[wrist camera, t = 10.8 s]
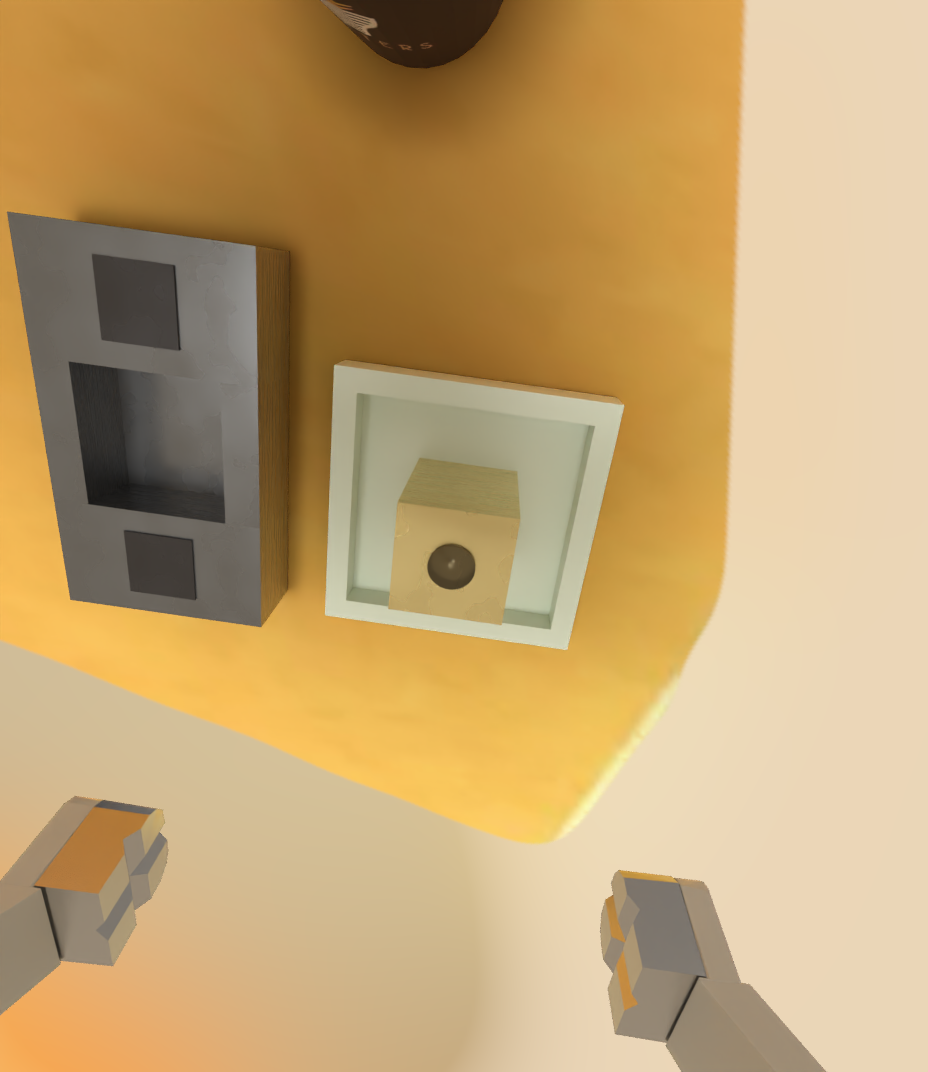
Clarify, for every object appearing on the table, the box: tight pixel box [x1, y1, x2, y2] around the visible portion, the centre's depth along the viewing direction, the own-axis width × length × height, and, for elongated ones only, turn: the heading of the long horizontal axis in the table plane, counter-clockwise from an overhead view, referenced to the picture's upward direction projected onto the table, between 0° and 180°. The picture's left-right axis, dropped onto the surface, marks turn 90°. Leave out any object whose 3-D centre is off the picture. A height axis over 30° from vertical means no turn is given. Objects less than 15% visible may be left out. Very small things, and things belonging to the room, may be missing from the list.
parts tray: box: [325, 360, 625, 650], centre depth 27 cm, size 12×12×2 cm
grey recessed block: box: [7, 212, 290, 627], centre depth 26 cm, size 16×9×4 cm, turn 173°
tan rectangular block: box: [388, 458, 521, 625], centre depth 25 cm, size 4×4×6 cm
